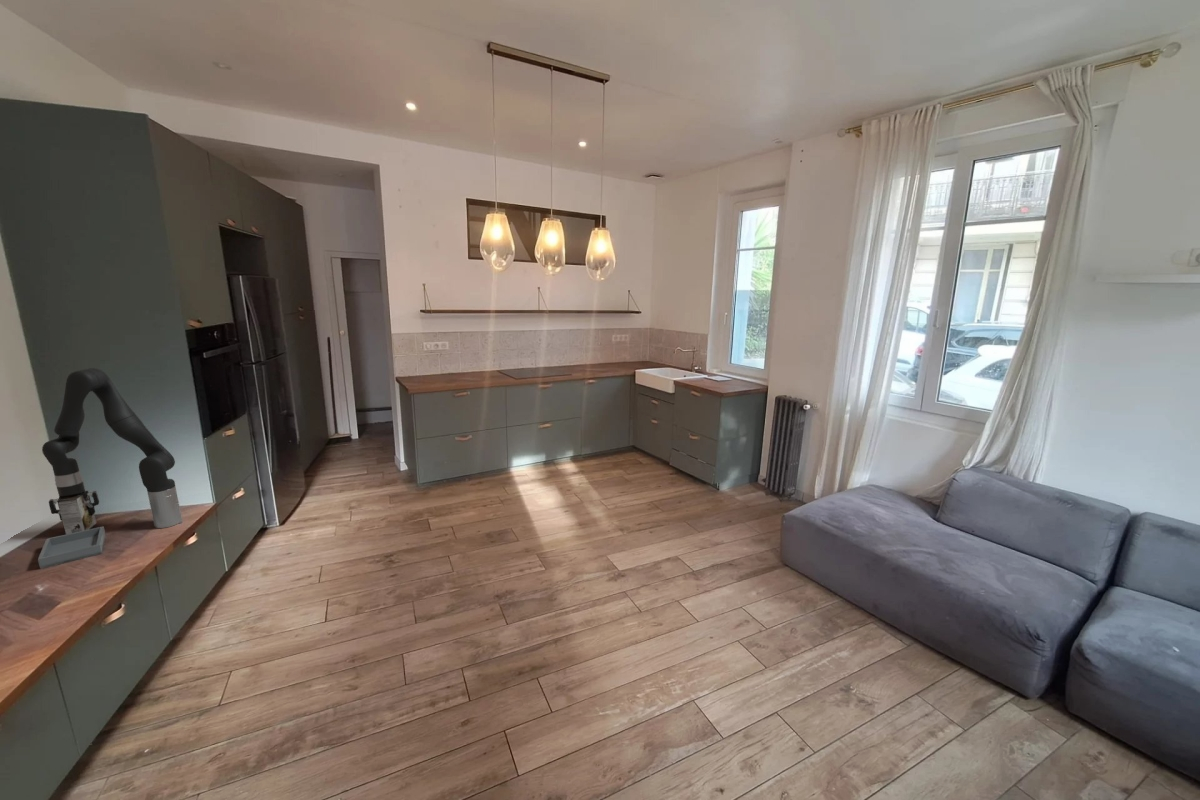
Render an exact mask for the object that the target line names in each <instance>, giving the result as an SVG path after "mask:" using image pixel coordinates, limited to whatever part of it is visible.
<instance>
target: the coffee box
mask: <svg viewBox="0 0 1200 800" xmlns="http://www.w3.org/2000/svg"><path fill="white" fill-rule="evenodd" d="M85 491H86V492H87V493H90V492H89V490H85ZM58 499H59V498H58ZM84 501H90V502H91V503H92V500H91V497H90V496H87V497H86V499H84V497H83V495H78V496H71V497H66V498H61V499H59V500H58V501H57V507H58V510H60V514H61V517H62V525H63V527H64V531H65V535H66V534H71V533H75V532H80V531H84V530H89V529H92V528H93V527H94V526H95V525H96V524H97V520H96V516H95V514H93V515H92V516H91V515H90V511H89V507H88V506H86V505H85V504H84Z"/></svg>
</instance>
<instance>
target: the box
mask: <svg viewBox="0 0 1200 800" xmlns="http://www.w3.org/2000/svg"><path fill="white" fill-rule="evenodd" d="M105 540H106V530H105V527H104V526H98V527H94V528H93V527H92V528H90V529H89V530H84V531H80V532H75V533H71V534H66V533H65V534H63V535H57V536H53V537H49V538H46V539H45V542H44V544H43V546H42V549H41V551H40V553H39V555H38V559H37V562H38V565H39V569H40V570H41V569H46V568H50V567H54V566H55V567H56V566H58V565H61V564H67V563H70V562H71V563H72V562H74V561H79V560H81V559H82V560H83V559H85V558H86V559H87V558H90V557H94V556H98V555H102V554H103V550H104V544H105Z"/></svg>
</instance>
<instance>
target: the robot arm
mask: <svg viewBox="0 0 1200 800" xmlns="http://www.w3.org/2000/svg"><path fill="white" fill-rule="evenodd" d="M90 392H91V393H93V394H95V396H96V397H97V398H98V400H99V401H100V402H101V404H102V410H103V414H104V415H103V416H104V419H105V422H106V424H107V425H108V426H109V427H110V429H111V430H112V431H113V432H114V433H115V435H116V436H118V437H119V438H121V439H123V440H125V441H126V442H129V443H131V444H133V445H134V446H136V447H137V448H139V449H140V450H141V451H142V453H143V454H144V455H145V457H143V458H142V459H141V460H140V461H139V463H138V471H139V475H140V478H141V482H142V485H143V486H144V487H145V488H146V492H147V497H148V501H149V505H150V507H149V508H150V511H151V515H152V516H151V517H152V520H153V525H154V528H156V529H164V528H170V527H173V526H176V525H178V524H182V523H183V517H182V512H181V506H180V502H179V497H178V493H177V488H176V483H175V482H176V481H175V480H174V479H172V478H168V475H167V472H168V471H169V470H171V469H173V468H174V466H175V464H176V460H175V458H174V456H173V455H172V454H171V452H169V451H168V450H167V449H166V447H164V446H163V445H162V444H161V442H160V441H158V439H156V437H155V436H154V435H153V434H152V433H151V432H150V431H151V430H149V429H148V428H147V427H146V426H145V424H144V422H142V420H141V419H140V418H139V416H138V415H137V414H136V412H135V411H134V410H133V409H132V408H131V407H130V406H129V405H128V403H127V402H126V401H125V399H124V397H122V395H121V393H119V391H118V389H117V388H116V387H115V385H114V383H113V382H112V380H111V379H110V377H109V375H107V373H106V372H104V371H103V370H101V369H99V368H97V367H96V368H95V367H91V368H90V367H89V368H85V369H80V370H79V369H78V370H75V371H72V372H71V373H70V374H68V376H67V378H66V381H65V388H64V394H63V395H64V396H63V402H62V407H61V411H60V413H59V416H58V419H57V421H56V424H55V426H54V430H53V431H54V433H55V434H56V435H58V437H57V438H54V439H51V440H48V441H47V442H45V443H44V444H43V445H42V447H41V450H42V451H41V452H42V454H43V456H44V457H45V459H46V460H47V462H48V463H49V464H50V465H51V467H52V471H53V474H54V482H55V483H54V485H55V487H56V490H57V495H58V498H50V499H49V501H48V505H49V509H50V513H51V514H53V515H54V514H55V515H56V514H58V516H59V520H60V521H62V517H61V514H60V510H59V509H57V507H56V505H58V502H57V501H58V500H59V499H61V498H66V497H71V496H78V495H83V497H84V499H86V497H87V496H90V498H92V500H93V502H92V501H91V502H90V501H84V504H85V505H86V506H88V507H89V511H90V515H91V516H92V515H93V514H94V515H95V513H96V509H95V506H98V505H100V500H99V496H98V495H99V494H98V491H97V490H93V491H92V492H89V493H87V492H86V491H87V490H86V488H85V485H84V480H83V476H82V474H81V472H80V468H79V465H78V464H79V463H78V461H77V460H76V458H72V457H71V458H70V457H67V454H68V453H71V452H74V451H75V450H76V449H77V447H78V446H79V444H80V430H81V428H82V426H83V423H84V421H85V409H84V402H85V399H86V398H87V397H88V395H89V393H90ZM62 522H63V521H62Z"/></svg>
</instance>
